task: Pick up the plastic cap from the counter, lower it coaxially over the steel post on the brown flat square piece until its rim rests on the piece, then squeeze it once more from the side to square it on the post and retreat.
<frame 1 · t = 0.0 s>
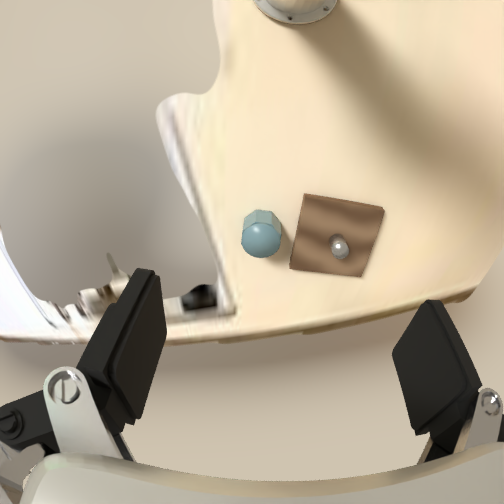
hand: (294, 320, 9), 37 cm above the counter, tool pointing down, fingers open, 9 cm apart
cap: (261, 226, 49), on the counter
brown flat square piece: (335, 236, 49), on the counter
post: (338, 246, 46), on the brown flat square piece, point 3 cm above the counter
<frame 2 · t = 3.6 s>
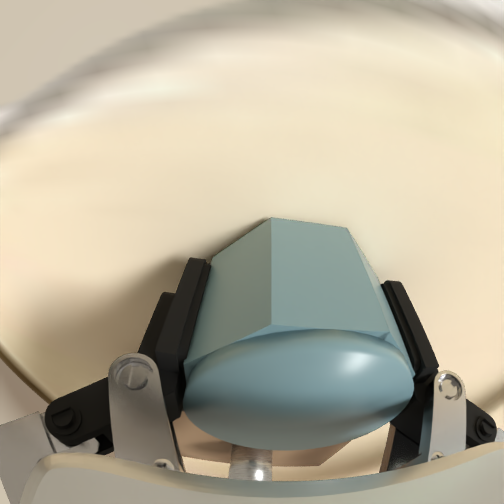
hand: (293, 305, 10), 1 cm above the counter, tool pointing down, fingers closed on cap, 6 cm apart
cap: (292, 294, 11), on the counter, touching gripper
brown flat square piece: (253, 425, 18), on the counter
post: (251, 465, 15), on the brown flat square piece, point 3 cm above the counter
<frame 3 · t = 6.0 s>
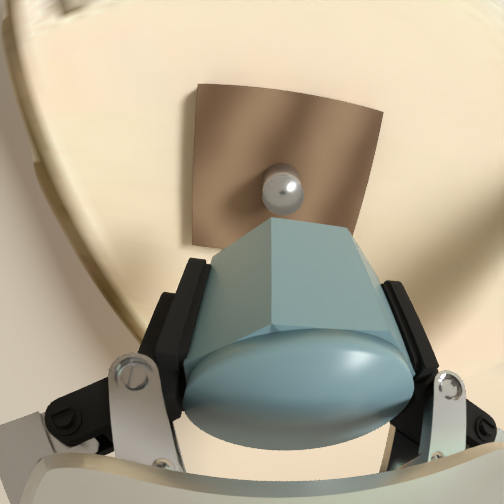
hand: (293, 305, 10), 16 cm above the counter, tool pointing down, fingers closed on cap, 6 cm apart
cap: (292, 294, 11), point 15 cm above the counter, touching gripper
brown flat square piece: (280, 174, 23), on the counter
post: (282, 187, 20), on the brown flat square piece, point 3 cm above the counter
when the fingers open (3 cm above the counter, at t = 8.4 s): cap stays where it is, resting on brown flat square piece.
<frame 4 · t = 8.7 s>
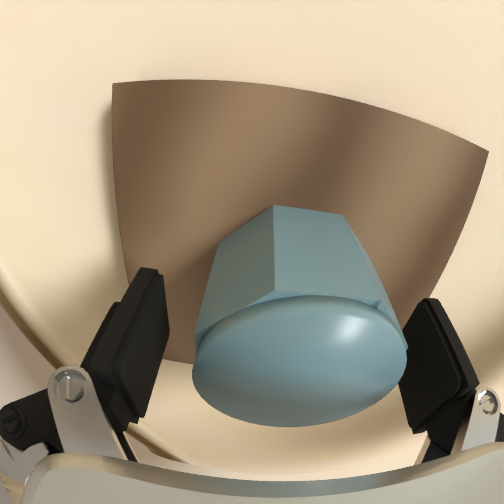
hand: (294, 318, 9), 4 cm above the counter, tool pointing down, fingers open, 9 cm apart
cap: (293, 278, 11), point 1 cm above the counter, touching brown flat square piece
brown flat square piece: (289, 256, 13), on the counter
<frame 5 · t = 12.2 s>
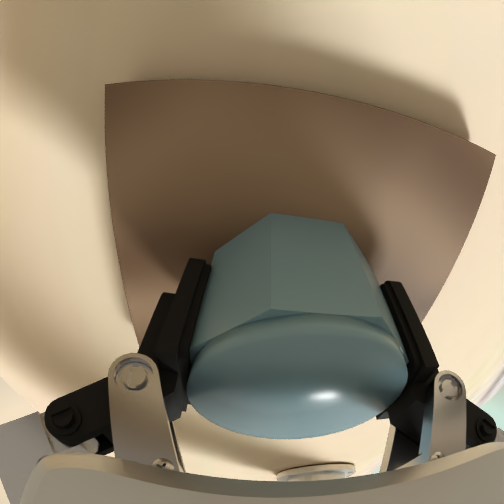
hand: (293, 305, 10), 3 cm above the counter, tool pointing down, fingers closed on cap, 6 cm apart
cap: (291, 287, 11), point 2 cm above the counter, touching brown flat square piece, gripper
brown flat square piece: (289, 263, 12), on the counter
when the fingers open (3 cm above the counter, at t = 13.4 s): cap stays where it is, resting on brown flat square piece.
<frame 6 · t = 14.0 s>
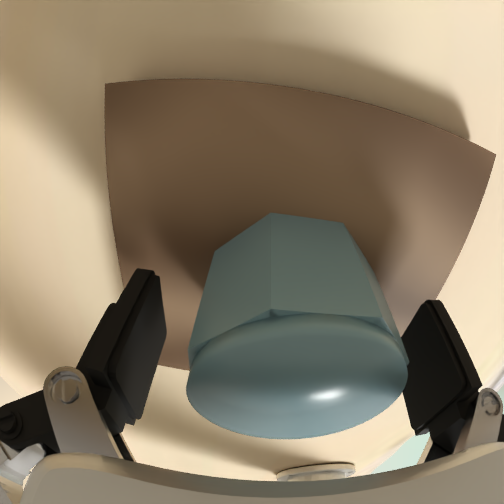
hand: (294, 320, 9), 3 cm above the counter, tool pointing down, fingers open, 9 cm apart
cap: (291, 287, 11), point 1 cm above the counter, touching brown flat square piece
brown flat square piece: (289, 263, 12), on the counter
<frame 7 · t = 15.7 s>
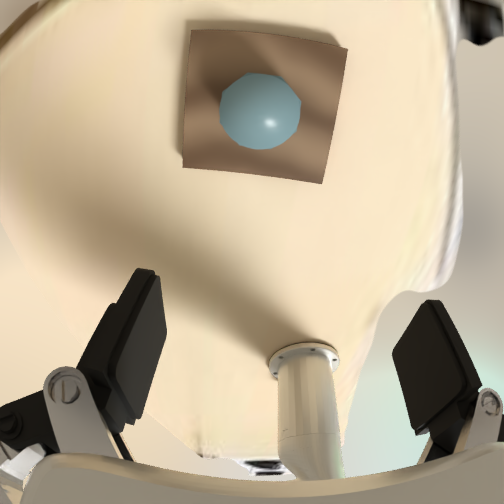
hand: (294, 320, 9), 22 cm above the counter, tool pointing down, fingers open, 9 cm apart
cap: (260, 105, 23), point 1 cm above the counter, touching brown flat square piece
brown flat square piece: (261, 103, 25), on the counter
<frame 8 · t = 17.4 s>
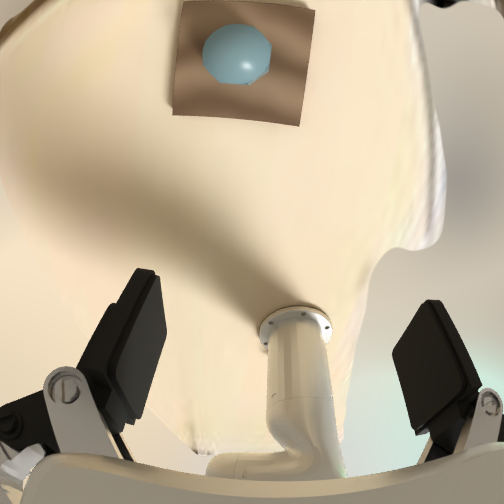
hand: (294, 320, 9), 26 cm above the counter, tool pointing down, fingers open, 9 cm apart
cap: (241, 58, 25), point 1 cm above the counter, touching brown flat square piece
brown flat square piece: (242, 58, 26), on the counter
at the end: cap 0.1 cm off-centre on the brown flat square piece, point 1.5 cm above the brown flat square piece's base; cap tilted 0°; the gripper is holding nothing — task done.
